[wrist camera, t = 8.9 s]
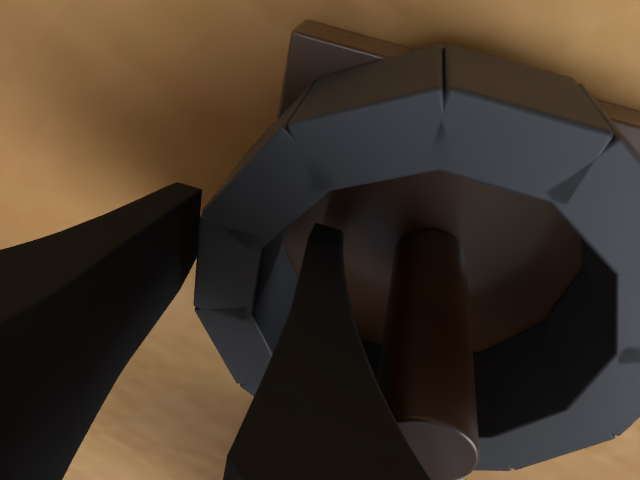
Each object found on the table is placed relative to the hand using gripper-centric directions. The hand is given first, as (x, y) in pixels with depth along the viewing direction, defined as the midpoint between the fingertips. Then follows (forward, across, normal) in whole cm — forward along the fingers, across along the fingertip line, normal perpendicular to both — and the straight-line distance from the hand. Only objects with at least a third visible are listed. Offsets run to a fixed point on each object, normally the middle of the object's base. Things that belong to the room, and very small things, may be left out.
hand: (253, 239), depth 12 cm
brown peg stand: (+2, -4, 0) cm, 5 cm away
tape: (+1, -4, 0) cm, 4 cm away
